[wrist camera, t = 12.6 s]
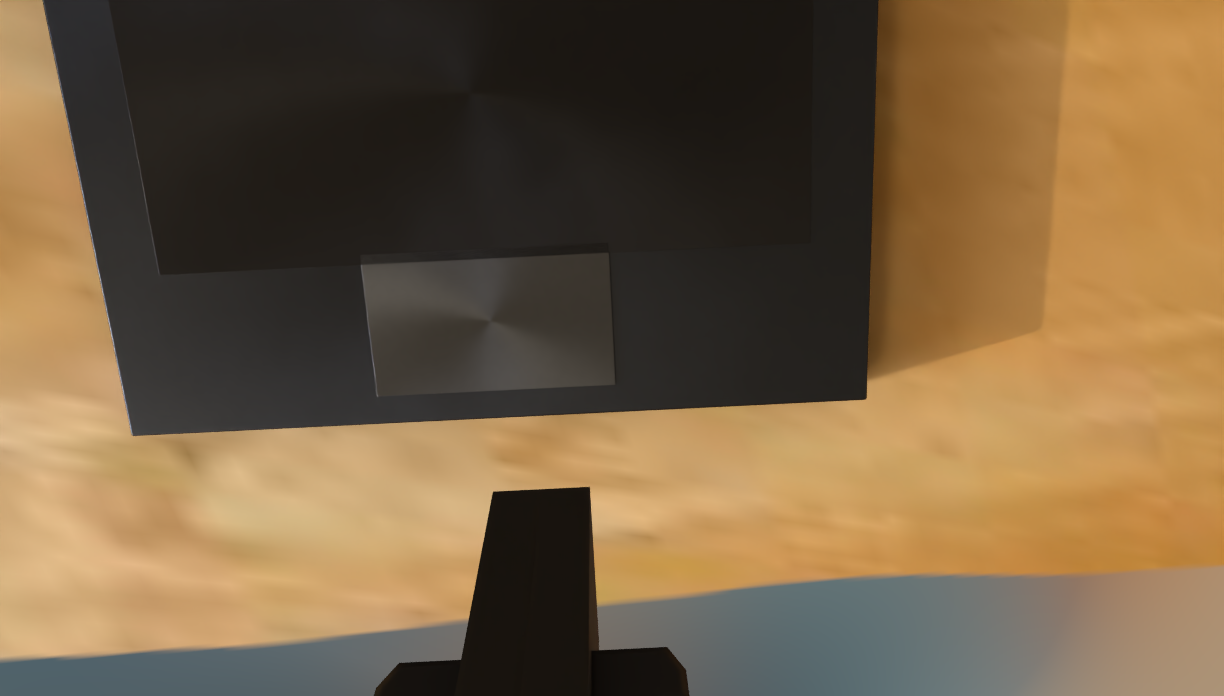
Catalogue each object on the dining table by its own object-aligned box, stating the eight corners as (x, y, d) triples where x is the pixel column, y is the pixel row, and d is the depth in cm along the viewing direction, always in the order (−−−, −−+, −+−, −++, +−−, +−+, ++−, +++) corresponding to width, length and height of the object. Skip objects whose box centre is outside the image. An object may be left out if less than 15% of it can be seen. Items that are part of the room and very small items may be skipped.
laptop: (857, 384, 47) (867, 401, 45) (147, 419, 47) (130, 437, 45) (871, -159, 40) (884, -165, 38) (40, -118, 40) (15, -121, 38)
